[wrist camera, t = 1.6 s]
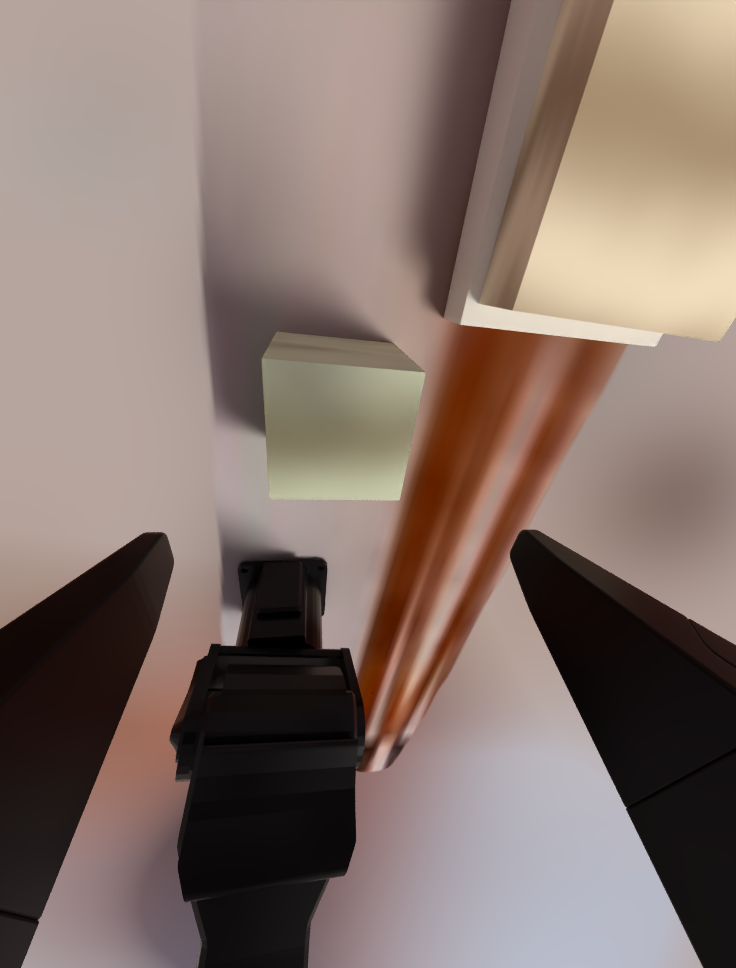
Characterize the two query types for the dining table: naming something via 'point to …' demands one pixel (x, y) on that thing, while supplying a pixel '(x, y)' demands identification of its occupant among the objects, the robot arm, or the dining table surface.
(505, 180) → the bottom slab
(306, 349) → the sage cube
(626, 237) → the top slab
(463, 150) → the dining table surface
